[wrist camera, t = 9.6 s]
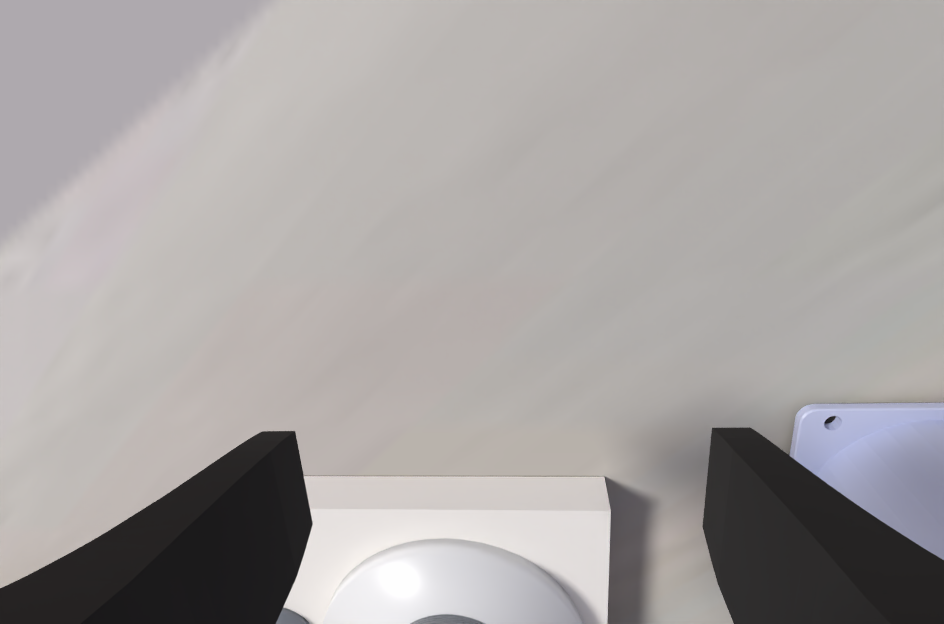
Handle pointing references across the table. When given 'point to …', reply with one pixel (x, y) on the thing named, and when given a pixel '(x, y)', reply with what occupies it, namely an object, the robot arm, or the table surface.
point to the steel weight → (447, 620)
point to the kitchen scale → (454, 550)
